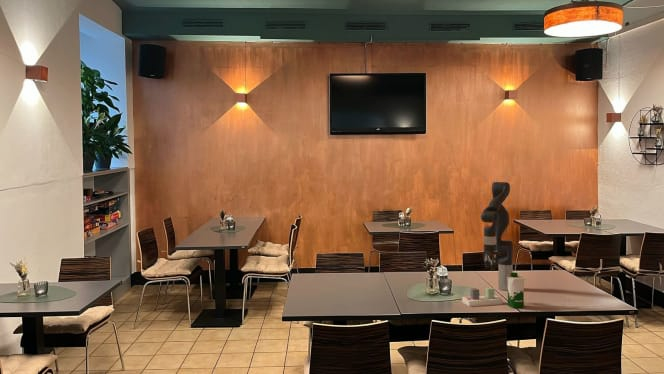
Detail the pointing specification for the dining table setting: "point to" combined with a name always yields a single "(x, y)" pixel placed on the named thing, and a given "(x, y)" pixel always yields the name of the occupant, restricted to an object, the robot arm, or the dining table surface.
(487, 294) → the green plug
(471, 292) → the white plate with window
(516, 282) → the milk carton
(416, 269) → the dining table surface
